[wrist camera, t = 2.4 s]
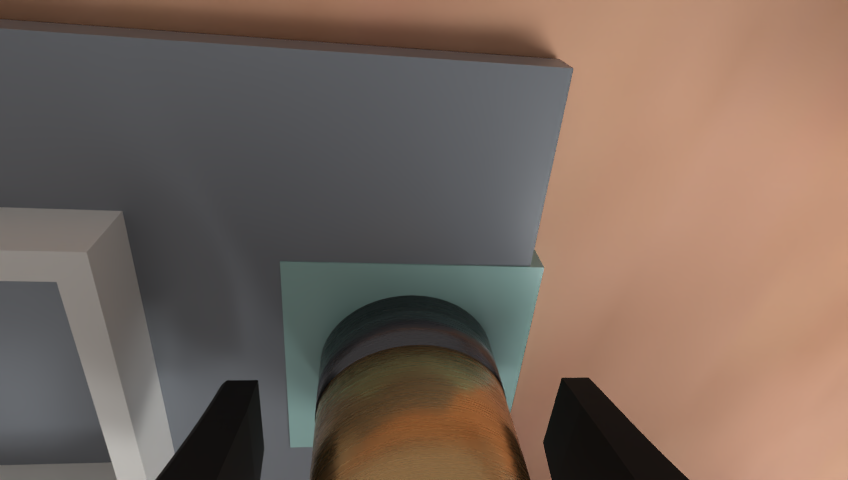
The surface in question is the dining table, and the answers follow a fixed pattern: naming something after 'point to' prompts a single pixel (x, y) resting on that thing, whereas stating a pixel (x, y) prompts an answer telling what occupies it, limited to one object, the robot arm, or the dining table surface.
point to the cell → (412, 398)
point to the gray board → (243, 225)
